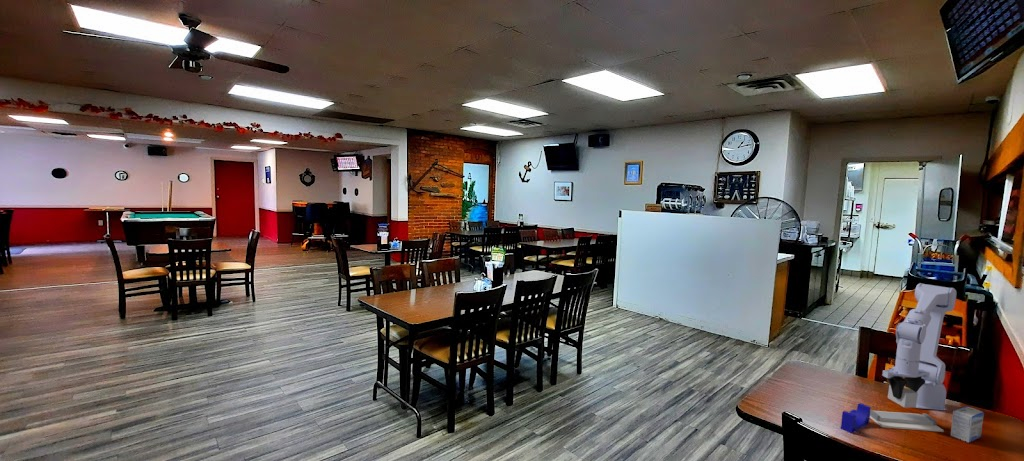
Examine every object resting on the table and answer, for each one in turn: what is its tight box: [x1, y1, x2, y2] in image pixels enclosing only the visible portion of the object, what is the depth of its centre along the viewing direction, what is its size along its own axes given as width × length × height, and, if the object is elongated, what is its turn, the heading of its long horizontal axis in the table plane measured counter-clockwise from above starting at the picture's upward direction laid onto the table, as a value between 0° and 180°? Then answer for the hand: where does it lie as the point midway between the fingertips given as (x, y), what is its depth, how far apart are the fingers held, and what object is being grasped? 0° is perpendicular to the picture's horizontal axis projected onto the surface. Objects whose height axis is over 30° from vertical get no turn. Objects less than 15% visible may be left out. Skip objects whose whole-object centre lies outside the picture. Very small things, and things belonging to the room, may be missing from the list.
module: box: [887, 384, 918, 408], centre depth 144 cm, size 4×6×5 cm
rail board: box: [870, 408, 945, 433], centre depth 144 cm, size 18×10×2 cm, turn 82°
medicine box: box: [950, 405, 985, 444], centre depth 135 cm, size 8×4×9 cm, turn 114°
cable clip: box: [840, 402, 872, 434], centre depth 141 cm, size 12×4×6 cm, turn 119°
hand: (903, 397), depth 143 cm, fingers closed on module, 4 cm apart
